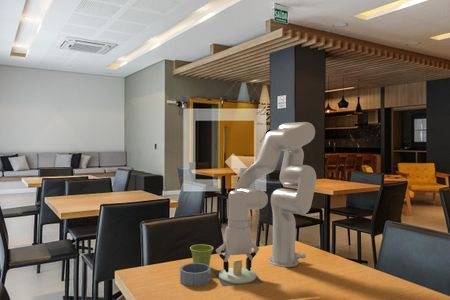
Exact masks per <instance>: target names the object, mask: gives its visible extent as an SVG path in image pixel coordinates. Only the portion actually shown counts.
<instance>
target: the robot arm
mask: <svg viewBox="0 0 450 300" xmlns="http://www.w3.org/2000/svg"><path fill="white" fill-rule="evenodd" d="M315 135H316V129H315V126H314V125H313V124H312V123H310V122H307V121H301V122H300V121H299V122H285V123H282V124H280V125H279V126H278V128H277V129H273V130H270V131H268V132H267V133H266V134H265V136H264V138H263V141H262V142H261V143H262V144H261V145H260V148H259V151H258V154H257V156H256V158H255V161H254V162H253V163H252V164H251V165H250V166H249V167H248V168H247V169H245V171H244V172H243V173H242V174H241V176H240V177H239V179H238V181H237V183H236V186H235V188H234V190H231V191H230V192H228V200H227V201H228V203H227V204H228V206H227V207H228V209H227V212H228V215H227V226H225V230H224V236H223V243H222V244H221V245H220V246H218V248H215V252H216V253H217V255H218V257H219V258H220V259H221V260H223V262H222V263H223V267H222V268H223V270H225V271H226V272H227V273H228V272H229V268H230V267H229V264H230V263H229V259H230V257H231V256H238V255H239V256H241V255H242V256H243V255H246V259H245V268H246V269H247V270H248V271H250V269H251V268H252V260H253V259H254V257H255V256H256V255H257V253H258V252H259V250H260V248H259V247H258V246H257V245H256V244H254V243H253V242H252V241H253V240H252V234H251V233H252V232H251V228H250V225H251V224H252V223H253V222H252V220H251V219H249V210H261V209H263V208H265V207H266V206H267V205H268V202H269V198H268V194H267V193H266V192H264V190H261V189H257V188H252V186H253V184H254V183H255V182H256V181H257V180H259V179H260V178H262V177H263V176H266V175H268V174H271V173H272V172H274V171H275V170H276V168H277V165H278V162H279V160H280V157H281V154H282V152H284V153H283V159H282V163H281V167H280V173H279V181H280V184H281V185H283V186H287V187H292V188H297V189H290V188H276V189H275V190H273V191H272V193H271V195H270V205H271V211H272V251H271V252H272V256H270V257H269V258H268V262H269V264H271V265H273V266H276V267H280V268H281V267H283V268H294V267H297V266H298V265H299V259H306V258H307V254H306V253H301V252H296V225H297V224H296V218H295V216H294V214H295V215H305V214H307V213H309V211H310V209H311V208H312V202H313V199H314V194H315V189H316V185H317V174H316V173H317V172H316V171H315V169H314V168H313V167H312V166H310V165H308V164H303V163H304V158H305V157H304V156H305V154H304V150H303V146H305V145H308V144H309V143H311V142H312V140H314V138H315ZM252 248H253V249H252ZM222 251H223V252H224V254H223V253H222Z"/></svg>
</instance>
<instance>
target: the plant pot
mask: <svg viewBox="0 0 450 300" xmlns="http://www.w3.org/2000/svg"><path fill="white" fill-rule="evenodd" d="M189 250H190V251H191V256H192V263H203V264H206V265H209V266H210V264H211V256H212V252H213V251H214V246H212V245H209V244H203V243H201V244H193V245H191V246H190V247H189Z"/></svg>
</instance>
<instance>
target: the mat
mask: <svg viewBox="0 0 450 300" xmlns="http://www.w3.org/2000/svg"><path fill="white" fill-rule="evenodd" d="M250 270H252V269H251V268H250ZM220 271H221V270H214V271H213V273H214V274H215V276H216V278H217V279H218V281H219V282H220V284H221V286H222V287H231V286H232V287H233V286H242V285H253V284H254V285H255V284H263V283H264V282H263V280H261V278H260V277H259V276H258V275H257V274H256V279H255V280H254V281H252V282H250V283H245V284H232V283H227V282H224V281H222V280H221V279H220V278H219V272H220Z"/></svg>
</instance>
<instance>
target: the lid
mask: <svg viewBox="0 0 450 300" xmlns="http://www.w3.org/2000/svg"><path fill="white" fill-rule="evenodd" d="M232 261H233V267H229V272H228V273H227V272H226V271H225V270H224V269H222V270H219V271H220V272H219V278H220V279H221V280H222V281H224V282H227V283H232V284H244V285H246V284H245V283H250V282H252V281H254V280H255V279H256V275H257V273H256V272H255V271H254V270H253V269H251V270H250V271H248V270H247V269H246V267H243V260H242V259H239V258H238V259H233V260H232Z"/></svg>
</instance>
